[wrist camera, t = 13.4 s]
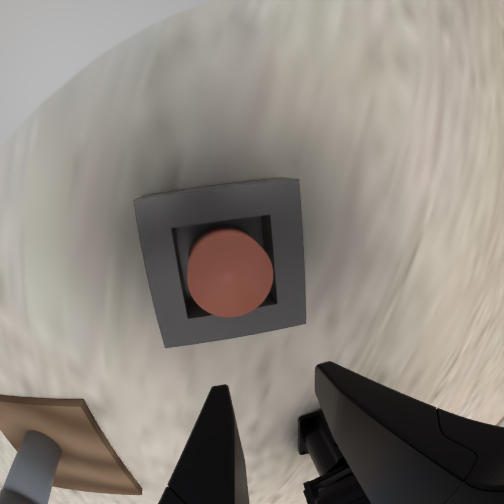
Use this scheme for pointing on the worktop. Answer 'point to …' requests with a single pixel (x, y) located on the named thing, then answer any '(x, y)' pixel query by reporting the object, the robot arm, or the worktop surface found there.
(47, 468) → the grey capped bottle
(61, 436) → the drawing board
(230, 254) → the button
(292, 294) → the button housing
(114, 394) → the worktop surface
